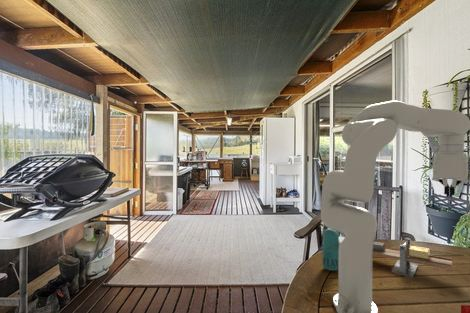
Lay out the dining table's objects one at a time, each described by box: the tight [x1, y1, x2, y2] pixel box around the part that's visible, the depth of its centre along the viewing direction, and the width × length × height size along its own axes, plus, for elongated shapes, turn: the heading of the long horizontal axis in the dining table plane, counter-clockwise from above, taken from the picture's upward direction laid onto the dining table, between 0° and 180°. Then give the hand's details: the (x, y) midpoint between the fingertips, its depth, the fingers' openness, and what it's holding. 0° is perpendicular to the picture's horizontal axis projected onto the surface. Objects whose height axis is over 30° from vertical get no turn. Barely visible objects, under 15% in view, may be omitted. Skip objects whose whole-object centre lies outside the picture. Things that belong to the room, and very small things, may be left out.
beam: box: [373, 241, 453, 271], centre depth 100 cm, size 7×28×5 cm, turn 46°
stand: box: [391, 237, 419, 279], centre depth 100 cm, size 13×7×11 cm, turn 136°
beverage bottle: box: [321, 225, 340, 271], centre depth 100 cm, size 6×7×20 cm
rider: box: [409, 245, 431, 260], centre depth 97 cm, size 5×6×4 cm
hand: (449, 196), depth 95 cm, fingers closed
